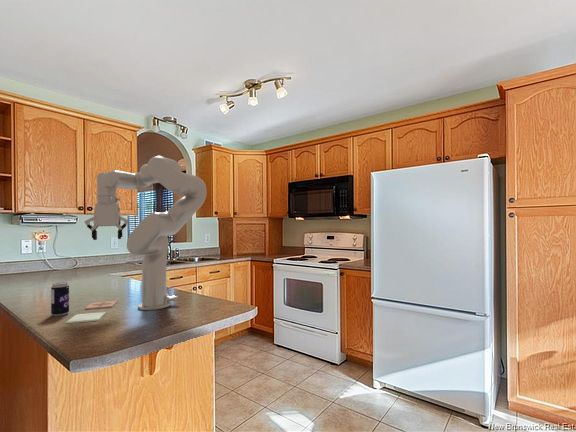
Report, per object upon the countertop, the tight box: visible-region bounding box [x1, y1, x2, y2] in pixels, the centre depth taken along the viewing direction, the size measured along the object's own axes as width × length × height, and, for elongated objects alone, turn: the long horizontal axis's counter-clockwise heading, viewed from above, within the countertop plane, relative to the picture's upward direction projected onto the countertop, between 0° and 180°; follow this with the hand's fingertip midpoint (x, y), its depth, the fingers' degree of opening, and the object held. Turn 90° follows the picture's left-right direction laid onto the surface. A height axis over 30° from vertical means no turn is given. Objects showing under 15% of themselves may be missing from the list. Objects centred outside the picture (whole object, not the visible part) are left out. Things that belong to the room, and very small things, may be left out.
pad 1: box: [65, 311, 107, 324], centre depth 119 cm, size 10×10×1 cm
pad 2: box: [84, 300, 119, 310], centre depth 138 cm, size 10×10×1 cm
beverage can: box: [50, 281, 70, 317], centre depth 125 cm, size 6×6×12 cm
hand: (107, 239), depth 143 cm, fingers open, 9 cm apart
